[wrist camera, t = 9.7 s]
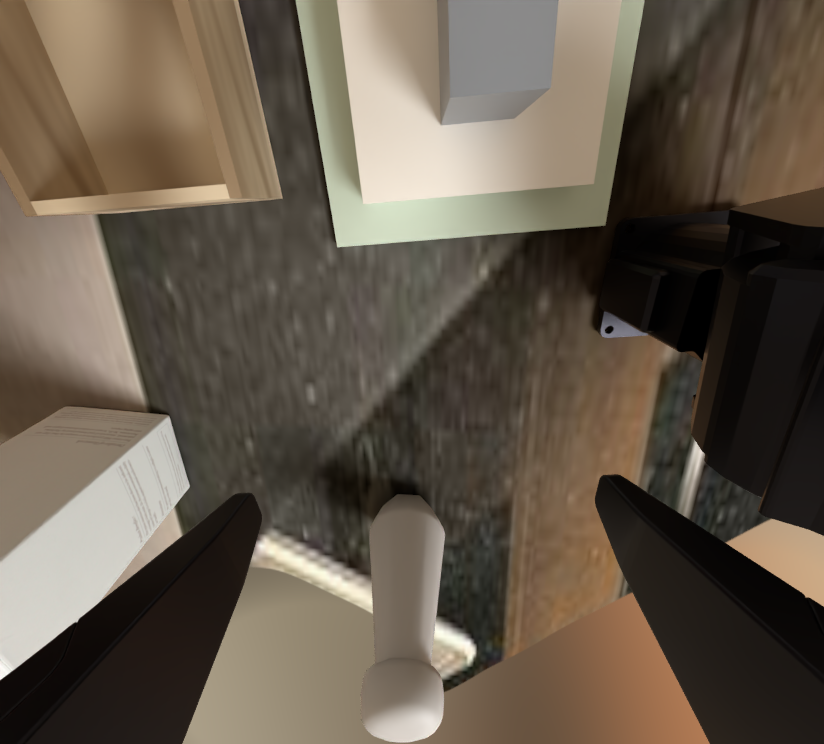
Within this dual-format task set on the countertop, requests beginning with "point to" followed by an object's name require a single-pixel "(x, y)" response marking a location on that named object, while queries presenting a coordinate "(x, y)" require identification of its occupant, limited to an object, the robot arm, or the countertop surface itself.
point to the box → (130, 107)
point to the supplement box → (77, 515)
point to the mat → (455, 212)
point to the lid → (476, 93)
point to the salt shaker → (404, 622)
